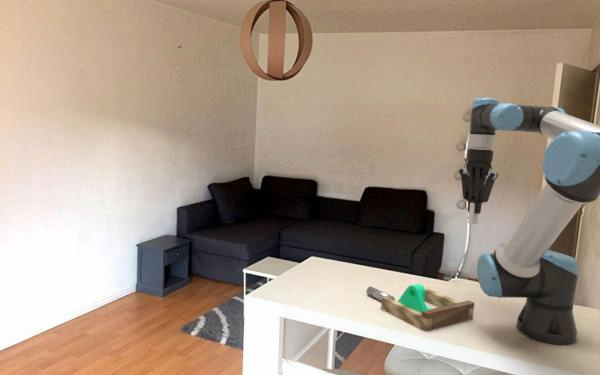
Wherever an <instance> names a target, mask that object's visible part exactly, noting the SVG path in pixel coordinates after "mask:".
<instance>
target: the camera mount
mask: <svg viewBox="0 0 600 375" xmlns="http://www.w3.org/2000/svg"><path fill="white" fill-rule="evenodd" d="M425 289H426V288H425V287H424V285H423V284H420V283H417V284H412V285H411V284H410V285H409V286H407V287H406V289H405V291H404V292H403V293H402V295H400V298H399V299H398V300H397V302H399V303H402V304H404V305H406V306H408V307H410V308H412V309H414V310H416V311H419V312H421V313H422V311H425V310H430V309H432V307H429V306H426V305H427V304H426V301H424V297H425V295H426V291H425Z"/></svg>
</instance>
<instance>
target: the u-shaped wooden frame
mask: <svg viewBox="0 0 600 375" xmlns="http://www.w3.org/2000/svg"><path fill="white" fill-rule="evenodd" d="M425 291H426V295H425V297H424V301H425V303H426V302H427V303H428V304H431V305H433V306H435V308H431V309H430V310H425V311H422V313H421V312H419V311H416V310H414V309H412V308H410V307H408V306H406V305H404V304H402V303H399V302H398V300H396V299H395V300H393V299H391V298H389V297H382V302H381V301H380V302H381V305H380V309H382V310H383V311H385V312H386V313H388V314H391V315H393V316H395V317H396V318H399V319H400V320H403V321H404V322H407V323H409V324H410V325H413V326H415V327H417V328H418V329H420V330H422V331H425V332H428V331H432V330H436V329H439V328H444V327H447V326H450V325H451V326H452V325H455V324H458V323H462V322H467V321H470V320H473V319H474V318H473V316H474V312H475V310H474V309H475V302H474V301H471V300H465V301H458V300H457V299H455V298H452V297H449V296H447V295H445V294H441V293H440V292H437V291H434V290H432V289H430V288H425Z"/></svg>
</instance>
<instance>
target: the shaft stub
mask: <svg viewBox="0 0 600 375" xmlns="http://www.w3.org/2000/svg"><path fill="white" fill-rule="evenodd" d="M366 295H367V296H369V297H371V298H373V299H375V300H377V301H379V302H382V297H389V298H391V299H393V300H395V301H396V299H395V297H394V296H393V295H390V294H389V293H386V292H385V291H382V290H380V289H378V288H375V287H373V286H368V287H367V289H366Z"/></svg>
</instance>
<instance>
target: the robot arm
mask: <svg viewBox="0 0 600 375" xmlns="http://www.w3.org/2000/svg"><path fill="white" fill-rule="evenodd" d="M470 112H471V113H470V114H471V115H470V122H469V123H470V124H469V126H470V127H469V135H468V142H467V147H469V148H468V149H467V153H466V154H467V155H466V160H467V162H466V164H465V167H464V168H460V169H459V170H458V172H459V175H460V178H461V190H462V199H463V200H466V201H467V203H468V205H467V213H468V219H467V222H468V224H471V225H475V224H478V222H479V214H481V213H482V212H481V211H482V204H485V203H488V201H489V198H490V196H491V194H492V193H491V192H492V190H493V187H494V184H495V181H496V179H497V178H498V177H499V173H498V172H495V171H494V170H493V166H492V162H493V158H494V157H493V156H494V150H492V149H494V148H495V139H496V131H506V132H507V131H508V132H510V131H511V132H525V133H526V132H528V133H537V134H539V135H542V136H545V137H547V138H550V139H551V141H550V143H549V144H548V145H547V147H546V150H545V151H544V154H543V158H544V160H543V161H542V170H543V174H544V181H545V183H546V184H545V185H544V187H543V188H542V190H541V191H540V193H539V194H538V196H537V198H536V199H535V200H534V202H533V203H532V205H531V206H530V208H529V209H528V211H527V213H526V214H525V216H524V217H523V218H522V220H521V222H520V223H519V224H518V226H517V227H516V229H515V230H514V232H513V234H511V237H510V238H509V240H508V241H504V242H501V243H499V245H497V247H496V248H495V249H494V250H493V253H489V252H485V253H482V254H481V255H480V256H479V257H478V259H477V263H476V274H477V280H478V281H477V282H478V284H479V287H480V289H481V290H482V292H483V293H484V294H485V295H486V296H488V297H491V298H499V299H501V298H506V299H507V298H508V299H509V298H512V299H513V298H514V299H515V298H516V299H517V298H521V299H522V298H526V300H525V303H524V305H523V307H522V309H521V311H520V312H519V315H518V316H517V319H516V324H515V325H516V326H515V327H516V329H517V330H518V332H520V333H521V334H523V335H524V336H526V337H529V338H531V339H533V340H537V341H539V342H544V343H547V344H554V345H571V344H574V343H576V341H577V339H578V338H577V337H578V330H577V325H576V321H575V316H574V312H573V310H574V304H575V296H576V295H575V294H576V288H577V282H578V276H579V263H578V261H577V259H575V258H574V257H572V256H570V255H568V254H565V253H560V252H557V251H553V250H550V248H551V247H552V245H553V244H554V243H555V241H556V240H557V238H558V237H559V236H560V234H561V233H562V232H563V231H564V229H566V227H567V225H568V224H569V223H570V222H571V220H572V219H573V218H574V217H575V215H576V213H578V211H579V210H580V208H581V207H582V206H583V204H591V203H593V202H594V201H596V200H597V199H598V198H599V196H600V125H598V124H595V123H592V122H589V121H587V120H584V119H582V118H578V117H575V116H572V115H570V114H567V113H566V112H565V110H564V109H563V108H561V107H555V106H536V105H525V104H523V105H522V104H515V103H511V102H510V103H508V102H503V103H499V100H498V99H497V98H492V97H491V98H489V97H482V98H481V97H477V98H474V99H473V102H472V107H471V110H470Z"/></svg>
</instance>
